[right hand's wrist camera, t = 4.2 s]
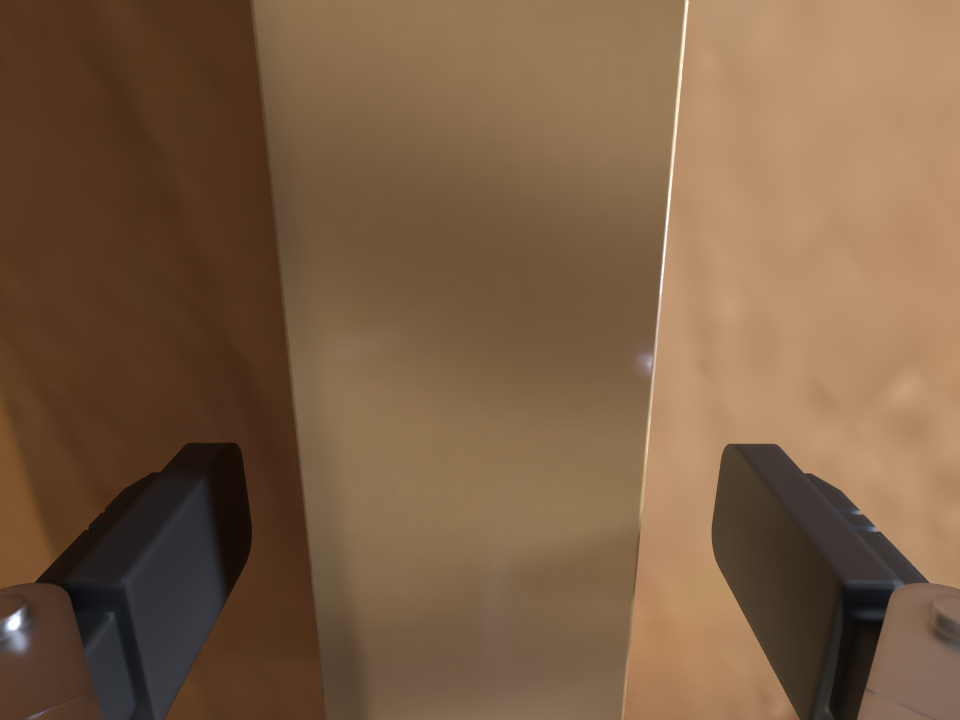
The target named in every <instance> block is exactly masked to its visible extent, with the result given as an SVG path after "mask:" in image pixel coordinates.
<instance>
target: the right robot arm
mask: <svg viewBox="0 0 960 720" xmlns="http://www.w3.org/2000/svg"><path fill="white" fill-rule="evenodd" d="M251 539H252V525H251V517H250V509H249V502H248V495H247V487H246V480H245V473H244V466H243V459H242V454H241V450H240V448H239V446H238V445H237V444H236V443H188V444H186V445H185V446H184V447H183V448H182V449H181V450H180V451H179V452H178V453H177V455H176V456H175V457H174V458H173V459H172V460H171V461H170V462H169V463H168V465H167V466H166V467H165V468H164V469H163V470H162V471H161V472H153V473H151V474H149V475H148V476H146V477H144V478H142V479H141V480H139V481H137V482H136V483H134V484H132V485H130V486H129V487H127V488H125V489H124V490H123V491H122V492H121V493H120V494H119V495H118V496H117V497H116V498H115V499H114V500H113V501H112V502H111V503H110V504H109V505H108V506H107V507H106V508H105V513H101V514H100V515H99V516H98V517H97V518H96V519H95V520H94V521H93V522H92V523H91V524H90V525H89V530H84V531H83V532H82V534H81V535H80V536H79V537H78V538H77V539H76V540H75V541H74V542H73V543H72V544H71V545H70V546H69V547H68V548H67V549H66V550H65V551H64V552H63V553H62V554H61V555H60V556H59V558H58V559H57V560H56V561H55V562H54V563H53V564H52V565H51V566H50V567H49V568H48V569H47V570H46V571H45V572H44V573H43V574H42V575H41V576H40V577H39V578H38V579H37V581H36V582H35V583H28V584H20V585H15V586H10V587H7V588H3V589H0V720H164V718H165V716H166V715H167V713H168V711H169V709H170V707H171V705H172V703H173V701H174V699H175V697H176V696H177V694H178V692H179V690H180V688H181V686H182V684H183V682H184V680H185V678H186V676H187V675H188V673H189V671H190V669H191V667H192V665H193V663H194V661H195V659H196V657H197V656H198V654H199V652H200V650H201V648H202V646H203V644H204V642H205V640H206V638H207V636H208V635H209V633H210V631H211V629H212V627H213V625H214V623H215V621H216V619H217V617H218V616H219V614H220V612H221V610H222V608H223V606H224V604H225V602H226V600H227V598H228V596H229V595H230V593H231V591H232V589H233V587H234V585H235V583H236V581H237V579H238V577H239V576H240V574H241V572H242V570H243V568H244V566H245V564H246V562H247V559H248V556H249V552H250V547H251ZM712 545H713V551H714V555H715V559H716V562H717V564H718V566H719V568H720V570H721V572H722V574H723V576H724V578H725V579H726V581H727V583H728V585H729V587H730V589H731V591H732V593H733V594H734V596H735V598H736V600H737V602H738V604H739V606H740V608H741V609H742V611H743V613H744V615H745V617H746V619H747V621H748V623H749V625H750V626H751V628H752V630H753V632H754V634H755V636H756V638H757V640H758V641H759V643H760V645H761V647H762V649H763V651H764V653H765V655H766V657H767V658H768V660H769V662H770V664H771V666H772V668H773V670H774V672H775V673H776V675H777V677H778V679H779V681H780V683H781V685H782V687H783V689H784V690H785V692H786V694H787V696H788V698H789V700H790V702H791V704H792V705H793V707H794V709H795V711H796V713H797V715H798V717H799V719H800V720H960V589H957V588H953V587H950V586H945V585H940V584H932V583H929V582H928V580H927V579H926V578H925V577H924V576H923V575H922V574H921V573H920V572H919V571H918V570H917V569H916V568H915V567H914V566H913V565H912V564H911V563H910V562H909V561H908V560H907V559H906V558H905V557H904V556H903V555H902V554H901V553H900V552H899V550H898V549H897V548H896V547H895V546H894V545H893V544H892V543H891V542H890V541H889V540H888V539H887V538H886V537H885V536H884V535H883V534H882V533H881V532H877V531H876V527H875V526H874V525H873V524H872V523H871V522H870V520H869V519H868V518H867V517H866V516H865V515H860V510H859V509H858V508H857V507H856V506H855V505H854V504H853V503H852V502H851V501H850V500H849V499H848V498H847V497H846V496H845V495H844V494H843V493H842V492H841V491H840V490H839V489H837V488H835V487H834V486H832V485H830V484H828V483H827V482H825V481H823V480H821V479H820V478H818V477H816V476H815V475H813V474H804V473H803V472H802V471H801V470H800V469H799V468H798V466H797V465H796V464H795V463H794V462H793V461H792V460H791V459H790V458H789V457H788V455H787V454H786V453H785V452H784V451H783V450H782V449H781V448H780V447H779V446H778V445H776V444H728V445H727V446H726V447H725V449H724V451H723V454H722V458H721V464H720V471H719V479H718V486H717V493H716V500H715V507H714V514H713V521H712Z"/></svg>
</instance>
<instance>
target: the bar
mask: <svg viewBox="0 0 960 720" xmlns="http://www.w3.org/2000/svg"><path fill="white" fill-rule="evenodd" d="M688 1H689V0H250V6H251V16H252V25H253V35H254V44H255V54H256V63H257V73H258V82H259V92H260V101H261V111H262V120H263V130H264V139H265V149H266V158H267V168H268V177H269V187H270V196H271V206H272V215H273V225H274V234H275V244H276V253H277V263H278V272H279V282H280V291H281V301H282V310H283V320H284V329H285V339H286V348H287V358H288V367H289V377H290V386H291V396H292V405H293V415H294V424H295V434H296V444H297V453H298V463H299V472H300V482H301V491H302V501H303V510H304V520H305V529H306V539H307V548H308V558H309V567H310V577H311V586H312V596H313V605H314V615H315V624H316V634H317V643H318V653H319V662H320V672H321V681H322V691H323V700H324V710H325V719H326V720H623V718H624V707H625V696H626V685H627V674H628V663H629V652H630V641H631V630H632V619H633V608H634V597H635V586H636V575H637V564H638V553H639V542H640V531H641V520H642V509H643V498H644V487H645V476H646V464H647V453H648V442H649V431H650V420H651V409H652V398H653V387H654V376H655V365H656V354H657V343H658V332H659V321H660V310H661V299H662V288H663V277H664V266H665V255H666V244H667V233H668V222H669V211H670V200H671V189H672V178H673V167H674V156H675V145H676V134H677V123H678V112H679V101H680V90H681V79H682V68H683V57H684V46H685V35H686V23H687V12H688Z"/></svg>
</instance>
